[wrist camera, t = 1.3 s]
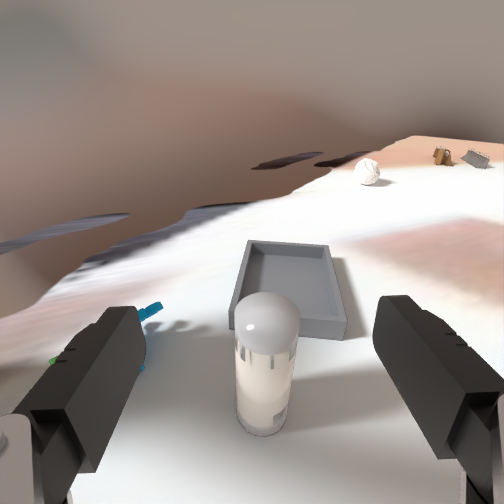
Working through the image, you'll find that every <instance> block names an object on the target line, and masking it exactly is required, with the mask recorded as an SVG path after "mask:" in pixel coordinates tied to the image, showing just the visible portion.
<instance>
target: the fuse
mask: <svg viewBox="0 0 504 504" xmlns="http://www.w3.org/2000/svg"><path fill="white" fill-rule="evenodd" d="M234 316H235V356H236V396H237V416H238V419H239V422H240V423H241V425H242V426H243V428H244V429H245V430H246V431H248V432H249V433H251V434H253V435H256V436H269V435H272V434H274V433H276V432H277V431H278V430H279V429H280V428H281V427H282V426H283V424H284V422H285V420H286V415H287V408H288V401H289V394H290V388H291V381H292V374H293V367H294V360H295V353H296V346H297V340H298V333H299V326H300V318H301V316H300V311H299V309H298V307H297V306H296V304H295V303H294V302H293V301H291V300H290V299H289V298H287V297H285V296H283V295H280V294H277V293H271V292H259V293H254V294H251V295H249V296H247V297H245V298H243V299H242V300H241V301H240V302H239V303H238V304H237V306H236V308H235V313H234Z"/></svg>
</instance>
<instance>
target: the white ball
mask: <svg viewBox="0 0 504 504" xmlns="http://www.w3.org/2000/svg"><path fill="white" fill-rule="evenodd" d="M377 164H378V163H377V162H376V161H374V160H372V159H369V158H365V159H362V160H361V161H359V162H358V163H357V165H356V166H355V169H354V177H355V179H356V181H357V182H359V183H360V184H363V185H370V184H373V183H375V182H376V181H377V180H378V179H379V176H380V171H379V169H378V167H377Z"/></svg>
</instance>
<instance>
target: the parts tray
mask: <svg viewBox="0 0 504 504" xmlns="http://www.w3.org/2000/svg"><path fill="white" fill-rule="evenodd" d="M259 292H271V293H277V294H280V295H283V296H285V297H287V298H289V299H290V300H291V301H293V302H294V303H295V304H296V306H297V307H298V309H299V311H300V316H301V318H300V326H299V333H298V336H302V337H312V338H322V339H332V340H342V341H343V337H344V333H345V329H346V326H347V318H346V314H345V310H344V306H343V302H342V298H341V294H340V290H339V286H338V282H337V278H336V274H335V270H334V266H333V262H332V258H331V254H330V250H329V246H328V245H314V244H299V243H285V242H270V241H256V240H248V241H247V245H246V249H245V252H244V256H243V260H242V263H241V267H240V271H239V274H238V278H237V282H236V285H235V289H234V293H233V296H232V300H231V304H230V307H229V329H232V330H235V316H234V313H235V308H236V306H237V304H238V303H239V302H240V301H241V300H242V299H243V298H245V297H247V296H249V295H251V294H254V293H259Z"/></svg>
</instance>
